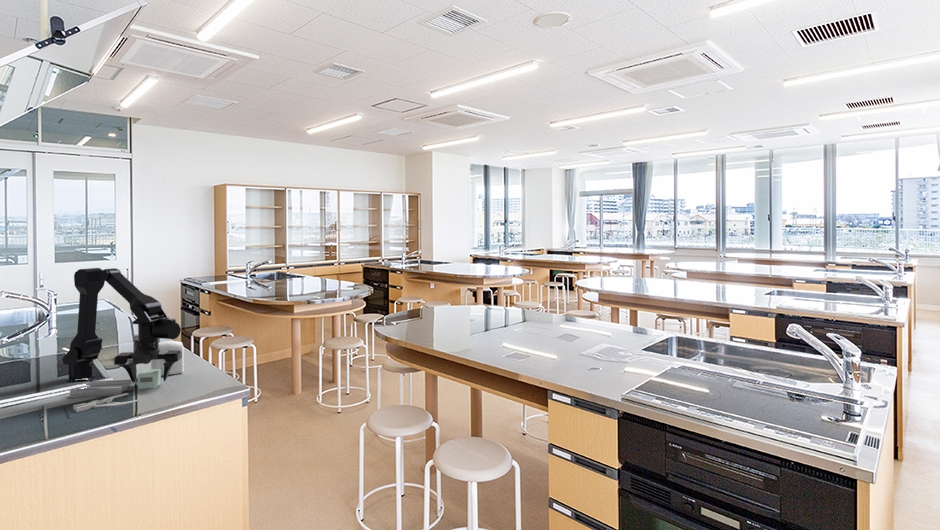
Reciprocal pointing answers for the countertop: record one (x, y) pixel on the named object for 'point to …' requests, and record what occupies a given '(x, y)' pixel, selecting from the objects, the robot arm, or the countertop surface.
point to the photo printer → (159, 363)
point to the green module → (149, 378)
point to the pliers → (96, 403)
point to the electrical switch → (137, 341)
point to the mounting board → (102, 388)
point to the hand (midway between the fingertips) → (149, 381)
